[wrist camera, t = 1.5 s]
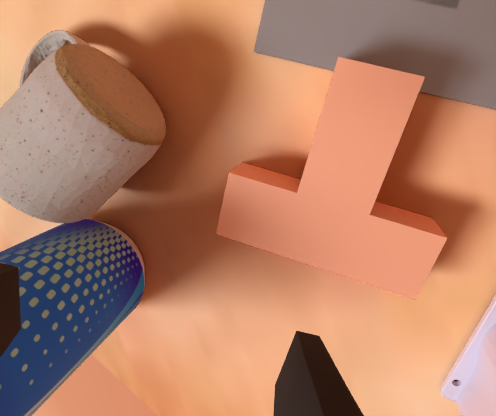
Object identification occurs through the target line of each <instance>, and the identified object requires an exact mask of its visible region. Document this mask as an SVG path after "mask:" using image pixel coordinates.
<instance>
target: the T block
mask: <svg viewBox="0 0 496 416" xmlns="http://www.w3.org/2000/svg"><path fill="white" fill-rule="evenodd" d="M424 78H425V77H424V76H419V75H415V74H411V73H406V72H402V71H398V70H394V69H389V68H385V67H381V66H376V65H372V64H368V63H363V62H359V61H355V60H351V59H346V58H342V57H338V59H337V62H336V66H335V69H334V72H333V76H332V79H331V82H330V86H329V89H328V92H327V95H326V99H325V102H324V105H323V109H322V112H321V115H320V119H319V122H318V125H317V128H316V132H315V135H314V138H313V142H312V145H311V148H310V152H309V155H308V158H307V161H306V165H305V168H304V171H303V175H302V178H301V179H298V178H294V177H291V176H287V175H284V174H281V173H277V172H274V171H270V170H267V169H263V168H260V167H257V166H253V165H250V164H246V163H243V162H242V163H241V164H240V165H238V166H237V167H236V168H234V169H233V170H232V171H230V172H229V174H228V179H227V183H226V188H225V193H224V197H223V202H222V207H221V211H220V216H219V220H218V225H217V230H216V234H217V235H220V236H223V237H226V238H229V239H232V240H235V241H238V242H241V243H244V244H247V245H250V246H253V247H256V248H259V249H262V250H265V251H268V252H271V253H274V254H277V255H280V256H283V257H286V258H289V259H292V260H295V261H298V262H301V263H304V264H307V265H310V266H313V267H316V268H319V269H322V270H325V271H328V272H331V273H334V274H338V275H341V276H344V277H347V278H350V279H353V280H356V281H359V282H362V283H365V284H368V285H371V286H374V287H377V288H380V289H383V290H386V291H389V292H392V293H395V294H398V295H401V296H404V297H407V298H410V299H413V300H416V298H417V296H418V294H419V293H420V291H421V289H422V287H423V285H424V283H425V281H426V279H427V277H428V275H429V273H430V271H431V269H432V267H433V265H434V263H435V261H436V259H437V258H438V256H439V254H440V252H441V250H442V248H443V246H444V244H445V242H446V240H447V237H446V236H445V234H444V233H443V232H442V230H441V229H440V228H439V226H438V225H437V223H436V222H435V221H434V219H433V218H431V217H427V216H424V215H421V214H417V213H414V212H410V211H407V210H404V209H400V208H397V207H393V206H390V205H386V204H383V203H380V202H376V201H375V200H376V198H377V195H378V193H379V190H380V188H381V185H382V183H383V180H384V178H385V175H386V173H387V170H388V168H389V165H390V163H391V161H392V158H393V156H394V153H395V151H396V148H397V146H398V143H399V141H400V138H401V136H402V133H403V131H404V128H405V126H406V123H407V121H408V118H409V116H410V113H411V111H412V108H413V106H414V103H415V101H416V98H417V96H418V93H419V91H420V88H421V86H422V83H423V81H424Z"/></svg>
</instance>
